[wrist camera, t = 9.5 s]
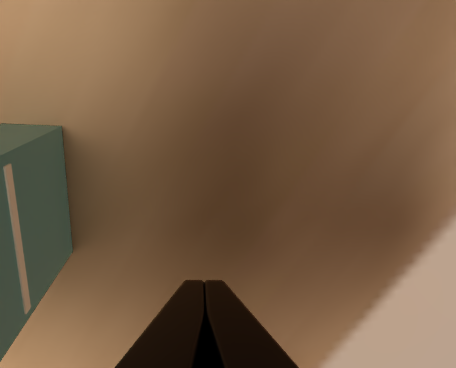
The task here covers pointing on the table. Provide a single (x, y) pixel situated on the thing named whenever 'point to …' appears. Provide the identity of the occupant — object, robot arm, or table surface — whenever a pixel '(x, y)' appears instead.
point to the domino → (30, 221)
